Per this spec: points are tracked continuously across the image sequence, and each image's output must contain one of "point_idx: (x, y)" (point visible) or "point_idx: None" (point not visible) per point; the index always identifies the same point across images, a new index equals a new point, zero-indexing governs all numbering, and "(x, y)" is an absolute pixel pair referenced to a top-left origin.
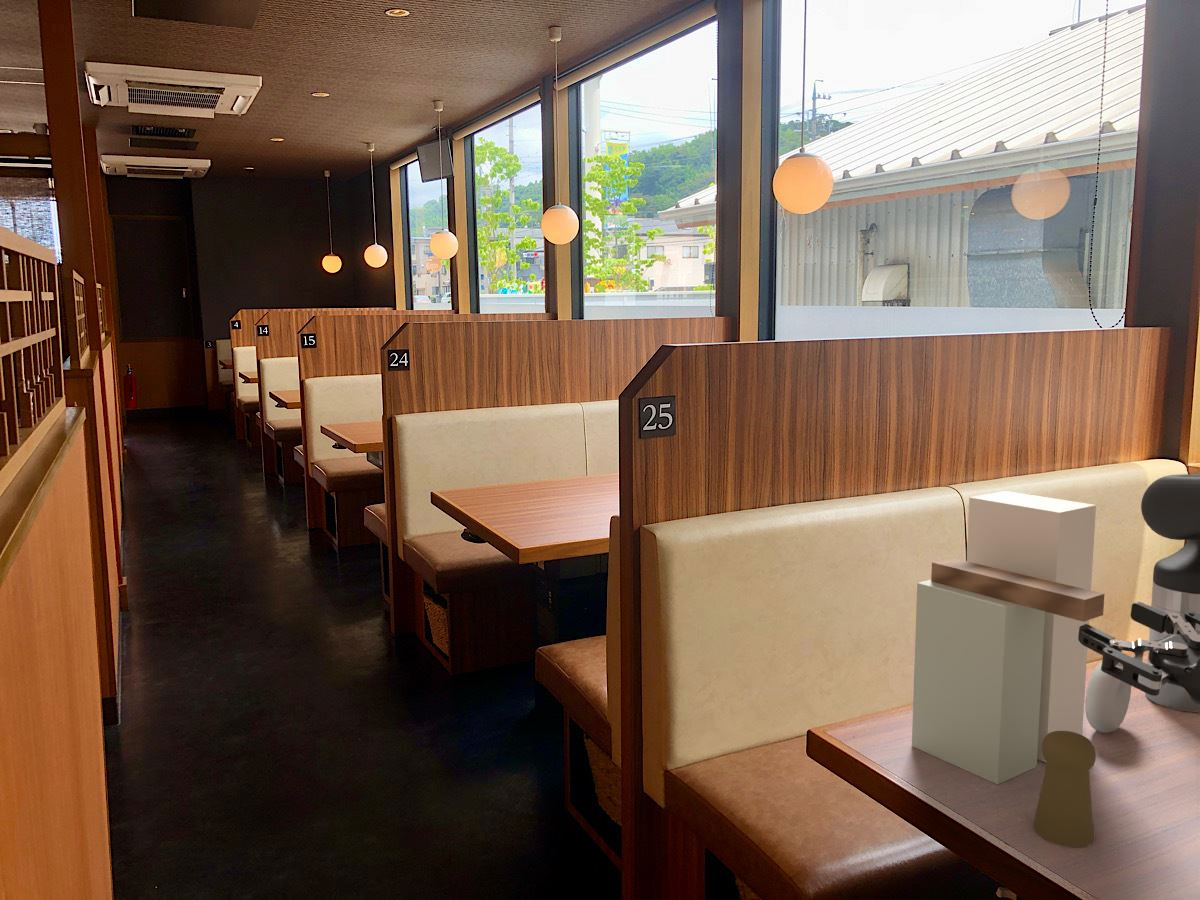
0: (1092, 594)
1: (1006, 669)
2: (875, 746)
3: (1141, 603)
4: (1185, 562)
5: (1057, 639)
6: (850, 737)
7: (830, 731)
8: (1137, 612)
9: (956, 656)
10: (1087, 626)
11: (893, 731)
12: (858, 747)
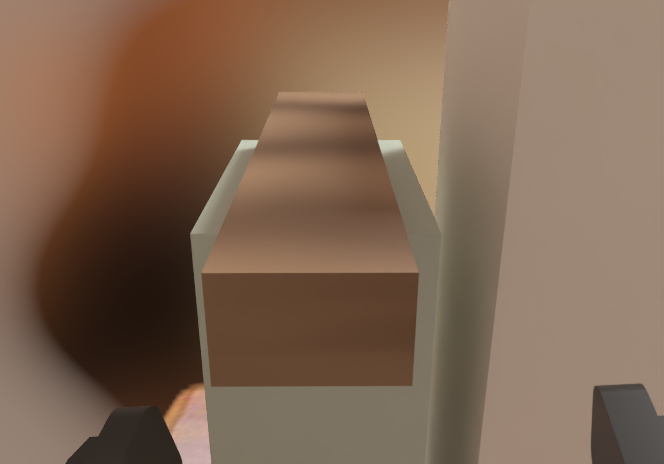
0: (345, 259)
1: (227, 430)
2: (206, 451)
3: (640, 406)
4: None
5: (514, 393)
6: (206, 415)
7: (202, 392)
8: (605, 451)
9: None
10: (121, 425)
11: None
12: (179, 440)
